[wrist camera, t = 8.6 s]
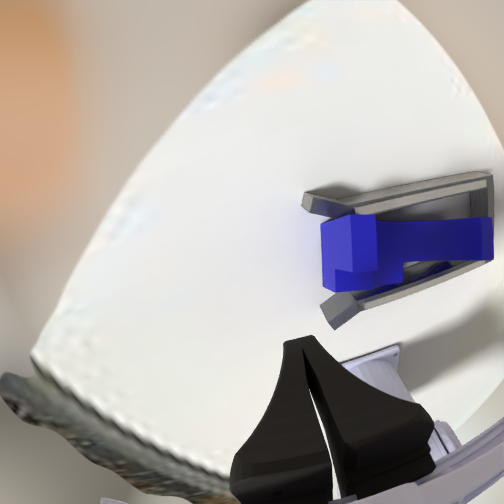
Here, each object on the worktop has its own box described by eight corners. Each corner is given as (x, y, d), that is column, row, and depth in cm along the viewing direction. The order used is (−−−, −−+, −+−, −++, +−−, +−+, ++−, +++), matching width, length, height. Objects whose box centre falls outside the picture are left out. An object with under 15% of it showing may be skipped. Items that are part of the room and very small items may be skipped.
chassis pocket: (475, 261, 21) (492, 271, 19) (320, 314, 22) (330, 334, 20) (473, 160, 18) (494, 163, 16) (298, 193, 19) (307, 199, 16)
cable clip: (322, 286, 20) (352, 300, 14) (320, 224, 20) (350, 214, 14) (446, 274, 20) (493, 280, 14) (445, 223, 20) (491, 217, 14)
